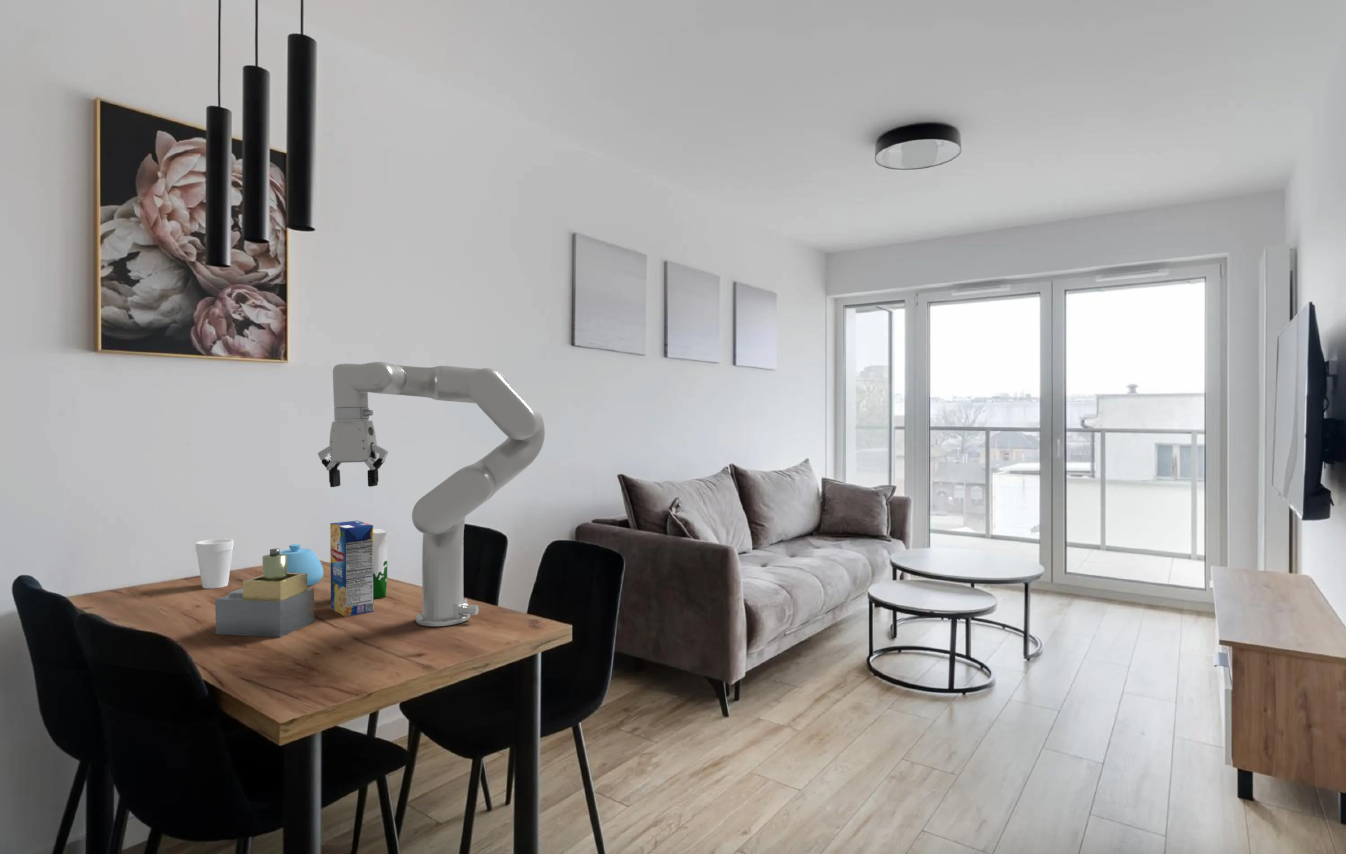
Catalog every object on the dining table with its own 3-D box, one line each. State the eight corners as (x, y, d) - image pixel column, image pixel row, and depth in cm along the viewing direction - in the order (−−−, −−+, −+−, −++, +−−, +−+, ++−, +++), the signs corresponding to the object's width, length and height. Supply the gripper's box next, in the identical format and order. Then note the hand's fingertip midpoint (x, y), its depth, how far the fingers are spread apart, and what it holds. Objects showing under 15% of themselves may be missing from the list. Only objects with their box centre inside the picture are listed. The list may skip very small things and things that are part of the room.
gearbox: (314, 621, 171) (313, 572, 171) (280, 637, 160) (279, 584, 159) (253, 619, 174) (253, 570, 173) (215, 634, 162) (215, 581, 161)
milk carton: (348, 595, 196) (348, 523, 196) (383, 590, 201) (382, 520, 201) (354, 602, 189) (354, 527, 189) (390, 597, 194) (390, 524, 194)
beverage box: (345, 616, 176) (345, 528, 175) (330, 608, 184) (330, 523, 183) (373, 611, 180) (373, 525, 180) (358, 603, 188) (357, 520, 188)
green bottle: (292, 591, 168) (291, 547, 168) (278, 596, 163) (277, 551, 163) (272, 591, 169) (271, 547, 169) (258, 596, 164) (257, 551, 164)
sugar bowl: (261, 591, 200) (261, 551, 200) (270, 580, 214) (270, 542, 214) (320, 587, 206) (320, 547, 205) (326, 576, 220) (325, 538, 220)
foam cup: (207, 582, 211) (206, 538, 211) (240, 581, 212) (239, 538, 212) (189, 590, 202) (188, 544, 201) (223, 589, 203) (223, 544, 202)
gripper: (393, 414, 173) (395, 484, 174) (327, 416, 176) (330, 485, 176) (376, 414, 166) (379, 487, 166) (308, 416, 168) (310, 488, 169)
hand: (354, 486), depth 171 cm, fingers open, 9 cm apart
